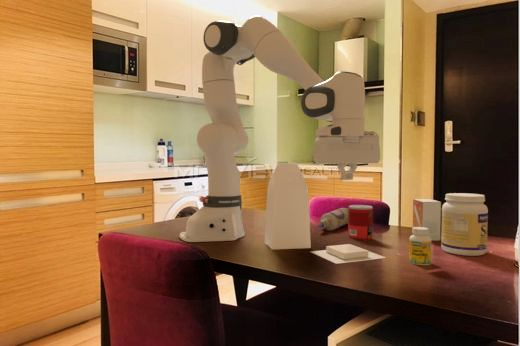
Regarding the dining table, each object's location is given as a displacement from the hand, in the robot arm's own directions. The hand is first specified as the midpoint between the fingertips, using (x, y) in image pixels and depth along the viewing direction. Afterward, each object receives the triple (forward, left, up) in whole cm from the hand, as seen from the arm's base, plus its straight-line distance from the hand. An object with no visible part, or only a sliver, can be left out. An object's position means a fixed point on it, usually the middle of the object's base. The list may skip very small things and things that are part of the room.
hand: (346, 179), depth 119 cm
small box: (+38, +9, -22) cm, 45 cm away
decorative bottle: (+19, +38, -22) cm, 48 cm away
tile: (-5, -2, -20) cm, 21 cm away
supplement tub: (+34, -10, -22) cm, 42 cm away
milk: (-11, +16, -22) cm, 29 cm away
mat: (-1, -2, -22) cm, 22 cm away
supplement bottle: (+12, -16, -22) cm, 29 cm away
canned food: (+17, +17, -22) cm, 33 cm away
